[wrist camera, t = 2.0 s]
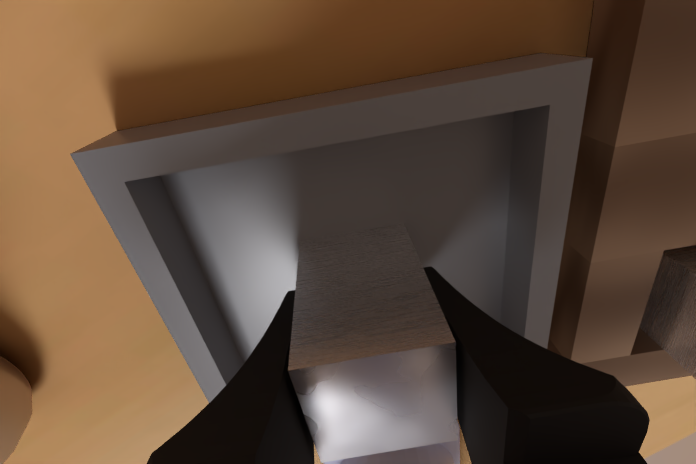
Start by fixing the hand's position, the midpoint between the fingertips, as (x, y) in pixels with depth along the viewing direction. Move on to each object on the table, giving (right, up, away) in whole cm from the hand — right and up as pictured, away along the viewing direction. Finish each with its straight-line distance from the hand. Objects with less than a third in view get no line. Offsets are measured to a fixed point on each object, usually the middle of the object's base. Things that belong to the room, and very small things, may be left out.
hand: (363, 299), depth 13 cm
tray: (0, +1, +2) cm, 2 cm away
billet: (0, +1, +1) cm, 2 cm away
